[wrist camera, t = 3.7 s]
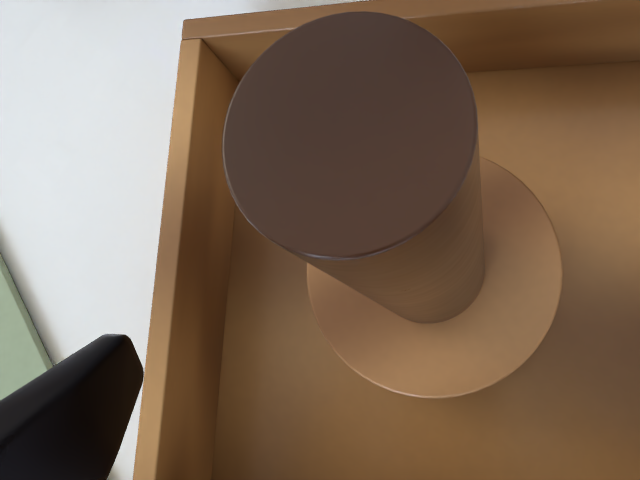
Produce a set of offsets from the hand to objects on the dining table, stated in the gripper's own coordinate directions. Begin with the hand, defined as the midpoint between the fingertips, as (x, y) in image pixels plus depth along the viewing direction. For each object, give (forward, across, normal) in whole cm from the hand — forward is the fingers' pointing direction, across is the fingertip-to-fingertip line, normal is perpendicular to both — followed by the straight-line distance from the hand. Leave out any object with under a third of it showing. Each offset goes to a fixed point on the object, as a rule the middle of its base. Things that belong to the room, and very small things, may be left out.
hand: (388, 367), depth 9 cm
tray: (+9, 0, +5) cm, 10 cm away
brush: (+8, 0, +5) cm, 10 cm away
